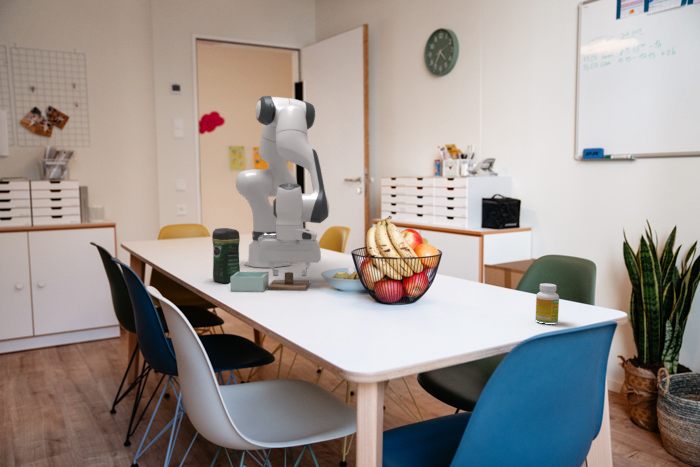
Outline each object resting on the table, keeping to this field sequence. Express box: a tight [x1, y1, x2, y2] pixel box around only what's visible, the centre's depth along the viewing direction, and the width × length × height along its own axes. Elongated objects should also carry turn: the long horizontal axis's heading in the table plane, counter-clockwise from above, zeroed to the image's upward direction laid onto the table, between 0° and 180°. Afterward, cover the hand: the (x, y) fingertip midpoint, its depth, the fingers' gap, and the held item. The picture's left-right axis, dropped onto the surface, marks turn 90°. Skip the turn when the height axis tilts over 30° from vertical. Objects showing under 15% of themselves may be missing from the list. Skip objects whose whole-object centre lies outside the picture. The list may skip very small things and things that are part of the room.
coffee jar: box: [211, 227, 241, 284], centre depth 198 cm, size 10×8×19 cm
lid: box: [267, 271, 310, 291], centre depth 188 cm, size 12×12×4 cm
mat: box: [266, 282, 312, 292], centre depth 188 cm, size 13×13×1 cm
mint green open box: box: [230, 271, 270, 293], centre depth 184 cm, size 10×10×5 cm
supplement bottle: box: [535, 282, 560, 324], centre depth 145 cm, size 5×5×10 cm
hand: (290, 275), depth 187 cm, fingers open, 8 cm apart
